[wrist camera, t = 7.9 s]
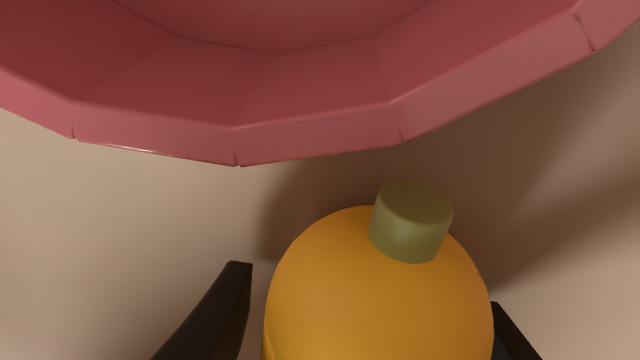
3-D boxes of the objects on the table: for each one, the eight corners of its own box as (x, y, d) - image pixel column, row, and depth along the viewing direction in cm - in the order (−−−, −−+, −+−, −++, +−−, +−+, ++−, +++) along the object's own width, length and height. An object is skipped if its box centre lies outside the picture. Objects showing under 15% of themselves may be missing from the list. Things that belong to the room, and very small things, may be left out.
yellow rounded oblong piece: (400, 360, 14) (423, 543, 10) (268, 341, 14) (233, 520, 9) (501, 154, 9) (640, 346, 5) (296, 120, 9) (249, 289, 5)
